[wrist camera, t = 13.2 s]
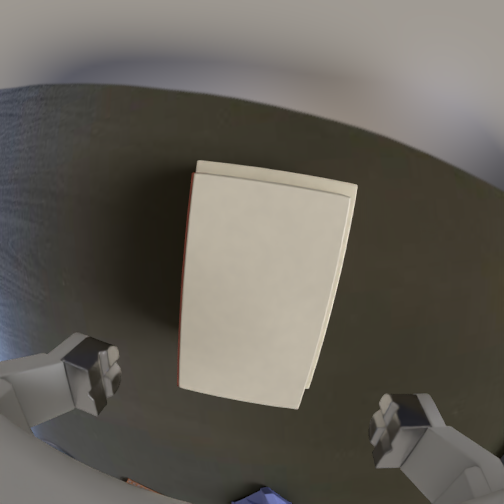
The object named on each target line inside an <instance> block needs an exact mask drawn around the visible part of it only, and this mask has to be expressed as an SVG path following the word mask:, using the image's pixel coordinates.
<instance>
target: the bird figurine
mask: <svg viewBox="0 0 504 504" xmlns="http://www.w3.org/2000/svg"><path fill="white" fill-rule="evenodd" d="M232 504H292V503H291V502H289V501H287V500H286V499H284V498H283V497H281V496H280V495H278V494H277V493H276V492H274V491H273V490H271V489H270V488H269V487H264V488H260V491H258V492H256V493H254V494H252V495H250V496H248V497H246V498H244V499H242V500H239V501H237V502H232Z"/></svg>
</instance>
